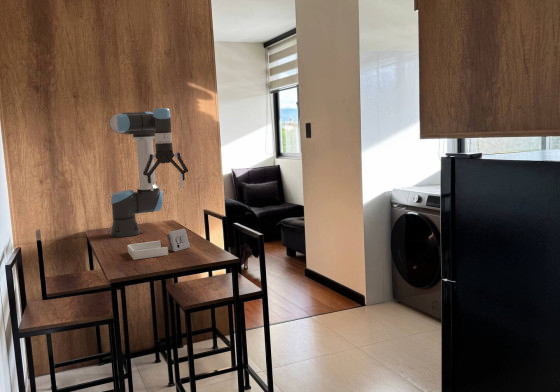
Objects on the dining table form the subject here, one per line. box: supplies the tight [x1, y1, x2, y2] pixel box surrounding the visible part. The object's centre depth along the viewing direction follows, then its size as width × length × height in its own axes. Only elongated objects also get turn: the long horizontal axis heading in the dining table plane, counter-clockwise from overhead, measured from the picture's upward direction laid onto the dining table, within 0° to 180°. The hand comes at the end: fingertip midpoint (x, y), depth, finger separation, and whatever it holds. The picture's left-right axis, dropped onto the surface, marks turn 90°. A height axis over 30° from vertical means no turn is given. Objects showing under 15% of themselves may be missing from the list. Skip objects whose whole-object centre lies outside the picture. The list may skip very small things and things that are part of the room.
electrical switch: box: [166, 228, 191, 252], centre depth 246 cm, size 9×5×9 cm, turn 141°
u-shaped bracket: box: [127, 240, 169, 260], centre depth 240 cm, size 16×15×4 cm
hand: (167, 189), depth 244 cm, fingers open, 13 cm apart
